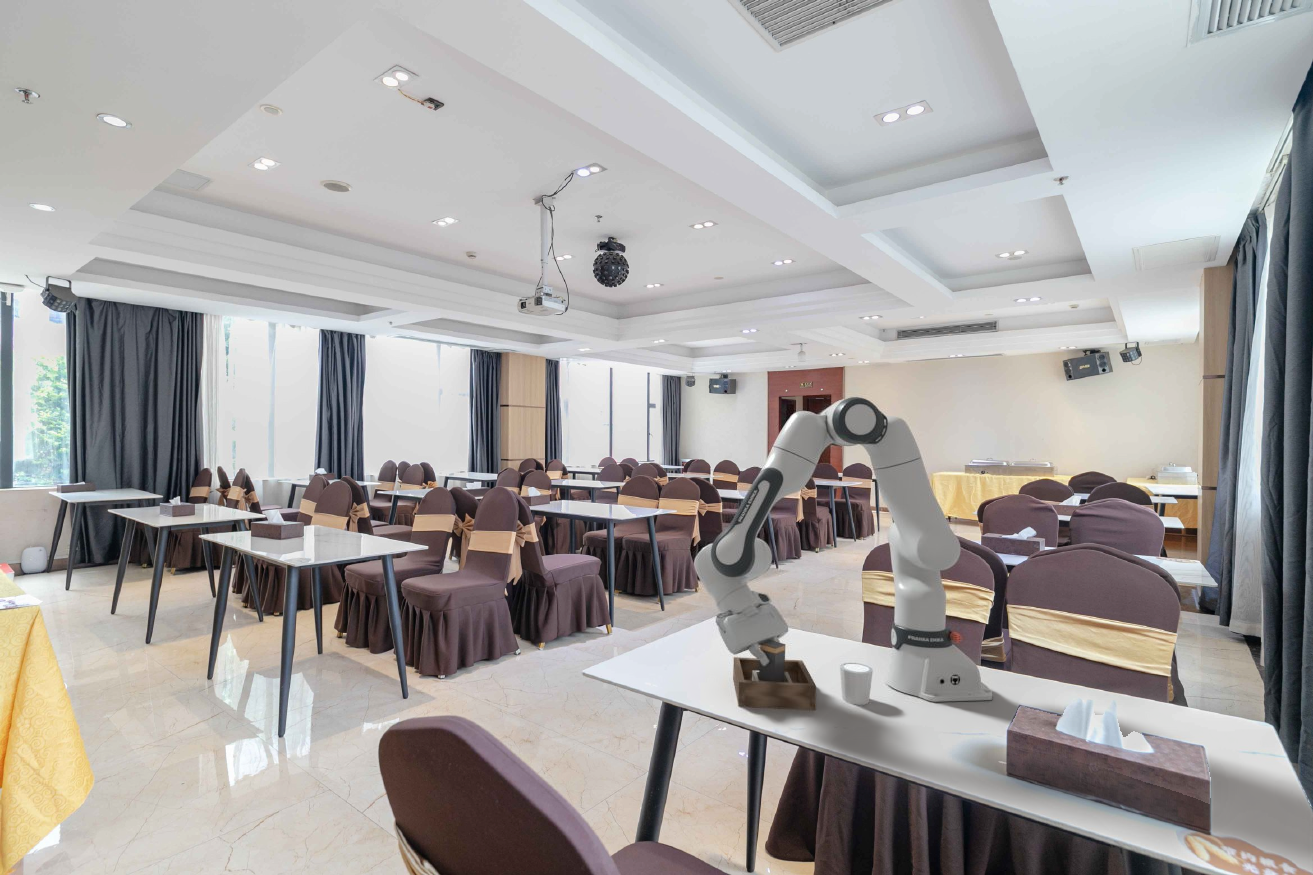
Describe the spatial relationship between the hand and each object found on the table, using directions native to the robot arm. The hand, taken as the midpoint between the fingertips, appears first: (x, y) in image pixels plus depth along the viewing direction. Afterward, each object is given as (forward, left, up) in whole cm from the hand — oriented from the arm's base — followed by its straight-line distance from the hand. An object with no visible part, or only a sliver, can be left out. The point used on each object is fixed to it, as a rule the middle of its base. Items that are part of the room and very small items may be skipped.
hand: (774, 660), depth 140 cm
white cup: (-18, +1, -8) cm, 19 cm away
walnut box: (0, 0, -7) cm, 7 cm away
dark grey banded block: (0, 0, -4) cm, 4 cm away
